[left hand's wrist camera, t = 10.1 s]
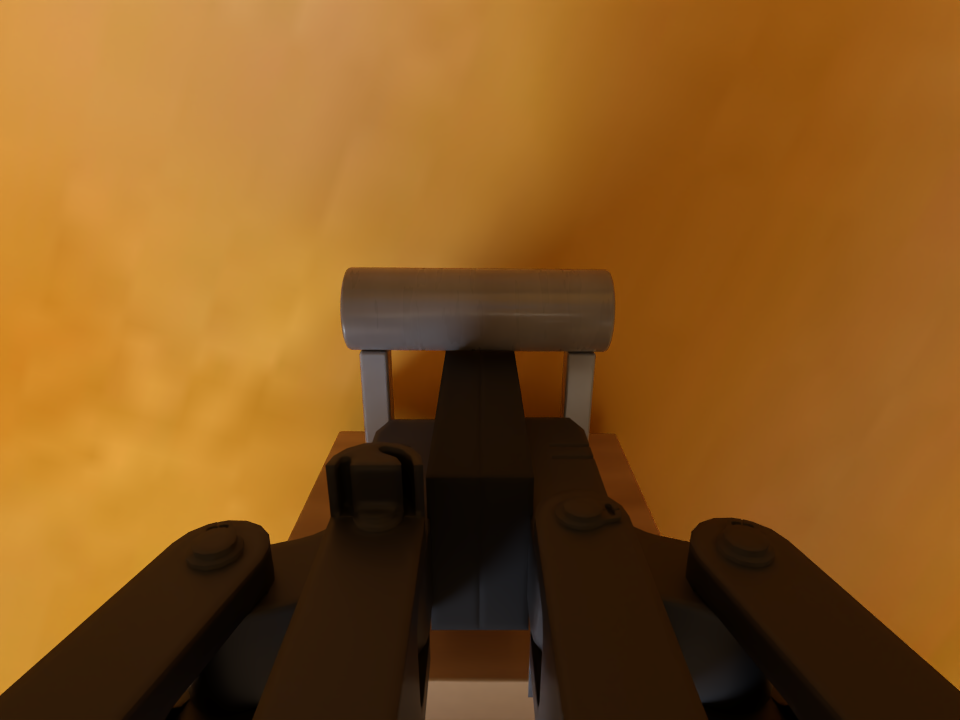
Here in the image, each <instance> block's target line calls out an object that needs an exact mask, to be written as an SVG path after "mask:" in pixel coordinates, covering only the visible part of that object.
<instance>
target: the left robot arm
mask: <svg viewBox="0 0 960 720" xmlns="http://www.w3.org/2000/svg"><path fill="white" fill-rule="evenodd" d="M325 467H326V477H327V486H328V495H329V505H330V514H331V517H330V520H329V523H328V525H327V528H326V529H325V530H323V531H321V532H318V533H316V534H314V535H310V536H307V537H303V538H300V539H295V540H290V541H286V542H281V543H276V544H271V545H270V539H269V534H268V533H267V532H266V531H265V530H264V529H263V528H262V526H260V525H257V524H254V523H251V522H248V521H232V520H228V521H222V522H218V523H217V522H216V523H212V524H208V525H205V526H203V527H200V528H198V529H195V530H193V531H191V532H188V533H187V534H185V535H184V536H182V537H181V538H179V539H178V540H177V541H175V542H174V543H172V544H171V545H170V546H169V547H168V548H166V549H165V550H164V551H163V552H162V553H161V554H160V555H159V556H157V557H156V558H155V559H154V560H153V561H152V562H151V563H150V564H148V565H147V566H146V567H145V568H144V569H143V570H142V571H140V572H139V573H138V574H137V575H136V576H135V577H134V578H133V579H131V580H130V581H129V582H128V583H127V584H126V585H125V586H124V587H122V588H121V589H120V590H119V591H118V592H117V593H116V594H114V595H113V596H112V597H111V598H110V599H109V600H108V601H107V602H105V603H104V604H103V605H102V606H101V607H100V608H99V609H98V610H96V611H95V612H94V613H93V614H92V615H91V616H90V617H88V618H87V619H86V620H85V621H84V622H83V623H82V624H81V625H79V626H78V627H77V628H76V629H75V630H74V631H73V632H72V633H70V634H69V635H68V636H67V637H66V638H65V639H64V640H62V641H61V642H60V643H59V644H58V645H57V646H56V647H55V648H53V649H52V650H51V651H50V652H49V653H48V654H47V655H46V656H44V657H43V658H42V659H41V660H40V661H39V662H38V663H36V664H35V665H34V666H33V667H32V668H31V669H30V670H29V671H27V672H26V673H25V674H24V675H23V676H22V677H21V678H20V679H18V680H17V681H16V682H15V683H14V684H13V685H12V686H10V687H9V688H8V689H7V690H6V691H5V692H4V693H3V694H1V695H0V720H425V715H426V704H427V693H428V682H429V671H430V660H431V657H430V623H431V630H529V621H530V630H531V631H530V657H529V683H528V697H533V703H534V714H535V720H960V691H959V690H958V689H957V688H956V687H955V686H953V685H952V684H951V683H950V682H949V681H948V680H947V679H945V678H944V677H943V676H942V675H941V674H940V673H939V672H937V671H936V670H935V669H934V668H933V667H932V666H931V665H930V664H928V663H927V662H926V661H925V660H924V659H923V658H922V657H920V656H919V655H918V654H917V653H916V652H915V651H914V650H912V649H911V648H910V647H909V646H908V645H907V644H906V643H904V642H903V641H902V640H901V639H900V638H899V637H898V636H896V635H895V634H894V633H893V632H892V631H891V630H890V629H888V628H887V627H886V626H885V625H884V624H883V623H882V622H880V621H879V620H878V619H877V618H876V617H875V616H874V615H873V614H871V613H870V612H869V611H868V610H867V609H866V608H865V607H863V606H862V605H861V604H860V603H859V602H858V601H857V600H855V599H854V598H853V597H852V596H851V595H850V594H849V593H847V592H846V591H845V590H844V589H843V588H842V587H841V586H839V585H838V584H837V583H836V582H835V581H834V580H833V579H831V578H830V577H829V576H828V575H827V574H826V573H825V572H824V571H822V570H821V569H820V568H819V567H818V566H817V565H816V564H814V563H813V562H812V561H811V560H810V559H809V558H808V557H806V556H805V555H804V554H803V553H802V552H801V551H800V550H798V549H797V548H796V547H795V546H794V545H793V544H792V543H790V542H789V541H788V540H787V539H785V538H784V537H782V536H781V535H779V534H778V533H776V532H775V531H773V530H772V529H769V528H767V527H764V526H762V525H759V524H757V523H754V522H752V521H748V520H741V519H736V518H713V519H710V520H707V521H704V522H701V523H699V524H698V525H697V526H696V527H695V528H694V530H693V531H692V532H691V539H690V542H687V541H682V540H677V539H672V538H667V537H663V536H659V535H655V534H652V533H648V532H645V531H643V530H641V529H638V528H636V527H634V526H633V524H632V522H631V519H630V517H629V515H628V514H627V512H626V511H625V509H624V508H623V507H622V505H620V504H619V503H617V502H616V501H614V500H613V499H611V498H610V497H608V495H607V493H606V490H605V487H604V484H603V481H602V478H601V476H600V473H599V470H598V467H597V464H596V462H595V459H594V458H593V453H592V450H591V447H589V442H588V439H587V436H586V433H585V431H584V429H583V428H581V427H580V426H579V425H578V424H577V423H575V422H574V421H573V420H572V419H571V418H525V416H524V410H523V404H522V398H521V391H520V385H519V379H518V372H517V366H516V360H515V353H514V351H446V353H445V360H444V366H443V372H442V379H441V385H440V391H439V397H438V404H437V410H436V416H435V419H391V420H389V421H388V422H387V423H386V424H385V425H383V426H382V427H381V428H380V429H379V430H377V431H376V433H375V436H374V439H373V441H372V443H363V444H360V445H356V446H353V447H349V448H346V449H345V450H343V451H341V452H339V453H337V454H336V455H334V456H333V457H332V458H331V459H330V460H329V462H328V463H327V464H326V465H325Z"/></svg>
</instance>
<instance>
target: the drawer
mask: <svg viewBox="0 0 960 720" xmlns="http://www.w3.org/2000/svg"><path fill="white" fill-rule="evenodd" d="M340 311H341V325H342V332H343V337H344V340H345V343H346V345H347V347H348V348H349V349H351V350H361V352H360V368H361V382H362V397H363V412H364V427H365V432H354V431H341V432H339V434H338V436H337V438H336V440H335V443H334V445H333V447H332V449H331V451H330V453H329V455H328V457H327V459H326V461H325V463H324V466H323V468H322V470H321V472H320V474H319V476H318V478H317V480H316V482H315V484H314V487H313V489H312V491H311V493H310V495H309V497H308V499H307V501H306V503H305V505H304V508H303V510H302V512H301V514H300V516H299V518H298V520H297V522H296V524H295V526H294V529H293V531H292V533H291V535H290V537H289V539H288V541H290V540H295V539H300V538H303V537H307V536H310V535H314V534H316V533H318V532H321V531H323V530H325V529H326V528H327V525H328V523H329V520H330V517H331V514H330V505H329V495H328V486H327V477H326V467H325V465H326V464H327V463H328V462H329V460H330V459H331V458H332V457H333V456H334V455H336V454H337V453H339V452H341V451H343V450H345V449H346V448H349V447H353V446H356V445H360V444H363V443H372V441H373V439H374V436H375V433H376V431H377V430H379V429H380V428H381V427H382V426H383V425H385V424H386V423H387V422H388V421H389V420H391V419H394V401H393V380H392V360H391V350H442V351H559V352H564V361H563V377H562V393H561V409H560V418H571V419H572V420H573V421H574V422H575V423H577V424H578V425H579V426H580V427H581V428H583V429H584V431H585V433H586V436H587V439H588V442H589V447H591V450H592V453H593V458H594V459H595V462H596V464H597V467H598V470H599V473H600V476H601V478H602V481H603V484H604V487H605V490H606V493H607V495H608V497H610V498H611V499H613V500H614V501H616V502H617V503H619V504H620V505H622V507H623V508H624V509H625V511H626V512H627V514H628V515H629V517H630V519H631V522H632V524H633V526H634V527H636V528H638V529H641V530H643V531H645V532H648V533H652V534H655V535H659V536H661V535H660V533H659V531H658V528H657V526H656V524H655V522H654V519H653V517H652V515H651V513H650V511H649V508H648V506H647V504H646V502H645V499H644V497H643V495H642V493H641V490H640V488H639V486H638V484H637V482H636V479H635V477H634V475H633V473H632V470H631V468H630V466H629V464H628V461H627V459H626V457H625V455H624V452H623V450H622V448H621V446H620V444H619V441H618V439H617V437H616V435H615V434H593V433H589V430H590V418H591V406H592V394H593V382H594V369H595V357H596V356H595V353H594V352H604V351H606V350H607V349H608V348H609V345H610V343H611V339H612V335H613V329H614V320H615V293H614V285H613V280H612V277H611V274H610V272H609V271H607V270H595V269H480V268H365V267H351V268H348V269H347V270H346V272H345V275H344V278H343V282H342V289H341V303H340ZM530 631H531V630H530V621H529V630H431V623H430V657H431V660H430V671H429V682H428V693H427V704H426V715H425V720H535V714H534V703H533V697H528V683H529V657H530Z"/></svg>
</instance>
